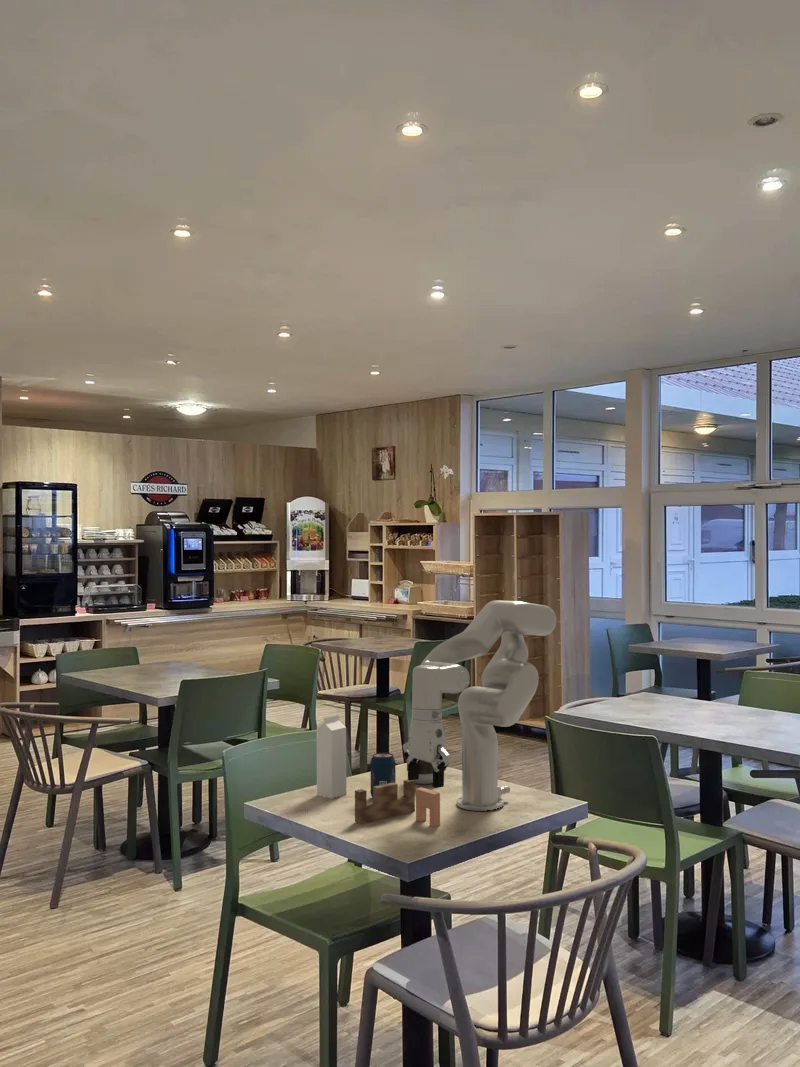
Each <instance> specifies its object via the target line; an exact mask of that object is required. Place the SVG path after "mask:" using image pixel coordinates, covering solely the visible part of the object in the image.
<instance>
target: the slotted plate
mask: <svg viewBox="0 0 800 1067" xmlns="http://www.w3.org/2000/svg"><path fill="white" fill-rule="evenodd" d="M427 809H428V810H429V826H431V827H434V828H435V827H439V826H441V793H440V792H438V791H434V790H431V789H428V788H425V787H422V786H421V787H418V788H415V821H417V822H419V823H421V822H425V821H427Z"/></svg>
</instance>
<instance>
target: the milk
mask: <svg viewBox="0 0 800 1067" xmlns="http://www.w3.org/2000/svg"><path fill="white" fill-rule="evenodd" d="M339 716H340V715H339V714H335V715H331V716H326V717H323V723H322V724H321V725H319V726H318V727H316V795H317V796H318V795H320V797H322V796H325V797H324V798H326V797H329V798H328V799H331V798H333V799H335V798H334V797H336V798H339V797H342V796H341V795H343V796H345V795H344V794H346V795H347V727H346V726H345V725H344V724H343V722H341V721H340V717H339ZM338 796H339V797H338Z"/></svg>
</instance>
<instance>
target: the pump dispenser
mask: <svg viewBox="0 0 800 1067" xmlns="http://www.w3.org/2000/svg"><path fill="white" fill-rule="evenodd" d="M417 763H419V779H417V780H415V784H417V785H430V784H433V772H434V771H435V770H434V768H433V765H432V763H429V762H425V761H421V760H418V762H417ZM437 765H439V763H437ZM406 771H407V772H408V764H407V763H406Z"/></svg>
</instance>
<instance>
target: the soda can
mask: <svg viewBox="0 0 800 1067" xmlns="http://www.w3.org/2000/svg"><path fill="white" fill-rule="evenodd" d="M396 782H397V781H396V759H395V757H394V753H391V752H376V753H373V754H372V757H371V760H370V796H371V797H372V799H373V787H374V786H379V785H383V784H388V783H396ZM396 784H397V783H396Z"/></svg>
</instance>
